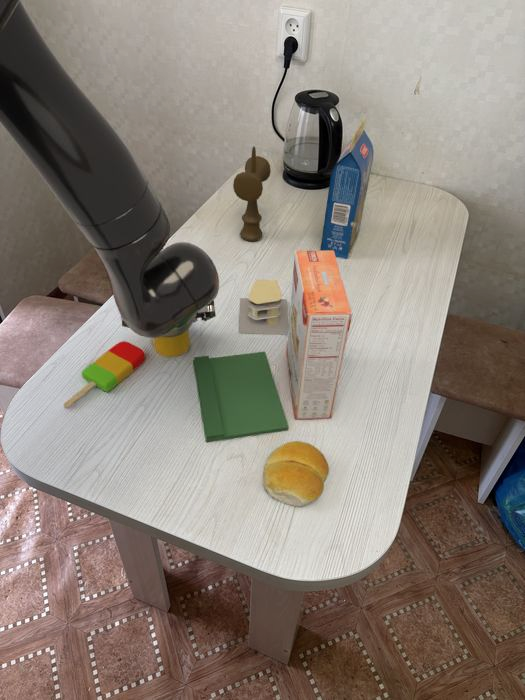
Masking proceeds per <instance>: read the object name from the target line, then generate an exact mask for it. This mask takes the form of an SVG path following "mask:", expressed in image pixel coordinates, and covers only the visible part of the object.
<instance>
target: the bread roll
mask: <svg viewBox="0 0 525 700" xmlns="http://www.w3.org/2000/svg"><path fill="white" fill-rule="evenodd" d="M329 471H330V467H329V463H328V461H327V459H326V457H325V456H324V453H322V452H321V451H320V450H319V449H318V448H317V447H315V446H314V445H312V444H310V443H308V442H304V441H299V440H295V441H294V440H293V441H289V442H286V443H284V444H282V445H280V446H278V447H277V448H275V450H273V451H272V452H271V453H270V454H269V456H268V457H267V459H266V462H265V466H264V469H263V473H262V482H263V486H264V488H265V490H266V491H267V493H268V494H269V495H270V497H272V498H273V499H274V500H277V501H279V502H281V503H283V504H285V505H289V506H293V507H297V508H298V507H299V508H302V507H305V506H307V505H308V504H311V503H313V502H316V500H318V499H319V497H320V496H321V495H322V494H323V492H324V487H325V486H324V482H325V481H326V479H327V477H328V475H329Z"/></svg>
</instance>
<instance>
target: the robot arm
mask: <svg viewBox="0 0 525 700" xmlns="http://www.w3.org/2000/svg"><path fill="white" fill-rule="evenodd" d="M0 124H1V126H2V127H3V129H5V130H6V132H7V133H8V134H9V136H10V137H11V139H12V140H13V141H14V142H15V143H16V145H17V146H18V147H19V149H20V150H21V151H22V153H23V154H24V155H25V157H26V158H27V159H28V161H29V162H30V164H31V165H32V166H33V167H34V169H35V171H37V172H38V174H39V176H40V177H41V179H42V180H43V181H44V182H45V183H46V185H47V186H48V188H49V189H50V191H51V192H52V193H53V194H54V196H55V198H56V199H57V200H58V201H59V203H60V204H61V206H62V208H64V210H65V211H66V212H67V214H68V215H69V217H70V218H71V220H72V221H73V222H74V223H75V225H76V226H77V227H78V229H79V230H80V232H81V233H82V235H83V236H84V237H85V239H86V240H87V241H88V242H89V244H90V246H91V247H92V249H93V250H94V251H95V253H96V255H97V256H98V258H99V260H100V262H101V264H102V266H103V268H104V271H105V274H106V276H107V278H108V282H109V284H110V288H111V289H110V290H111V292H112V296H113V299H114V303H115V305H116V308H117V310H118V313H119V315H120V319H121V326H122V327H124V328H128V329H130V330H131V331H132V332H133V333H135V334H136V335H138V336H140V337H144V338H147V339H153V338H159V337H161V336H162V337H176V336H179V335H181V334H183V333H185V332H186V331H187V330H188V329H189V330H190V328H191V327H192V326H193V323H194V324H195V323H197V322H198V319H201V321H203V322H207V321H208V320H211V319H214V318H216V316H217V315H216V307H215V300H216V298H217V296H218V294H219V290H220V278H219V273H218V270H217V267H216V265H215V263H214V261H213V259H212V258H211V257H210V256H209V255H208V254H207V253H206V251H204V250H203V249H202V248H201V247H199V246H198V245H195V244H193V243H191V242H186V241H185V242H184V241H181V242H174V243H172V244H171V245H168V246H166V245H167V243H168V241H169V239H170V235H171V224H170V220H169V218H168V216H167V213H166V211H165V209H164V208H163V206H162V203H161V202H160V201H159V198H158V197H157V194H156V193H155V191H154V189H153V188H152V186H151V183H150V181H149V180H148V178H147V177H146V173H145V172H144V170H143V169H142V167H141V165H140V163H139V162H138V160H137V158H136V157H135V155H134V154H133V152H132V151H131V148H129V146H128V145H127V144H126V142H125V141H124V140H123V138H122V136H120V135H119V133H118V131H117V130H116V129H115V127H113V126H112V124H111V123H110V122H109V120H107V118H106V117H105V116H104V114H103V113H101V111H100V110H99V109H98V108H97V106H95V104H94V103H93V102H92V100H91V99H90V98H89V97H88V96H87V95H86V93H85V92H84V91H83V90H82V89H81V87H79V85H78V84H77V82H76V81H75V80H74V78H72V76H71V75H70V74H69V72H67V70H66V69H65V68H64V66H62V64H61V62H60V61H59V59H58V58H57V57H56V55H55V53H53V51H52V49H51V48H50V47H49V46H48V44H47V42H46V41H45V39H44V38H43V36H42V35H41V34H40V32H39V30H38V29H37V27H36V25H35V23H34V22H33V21H32V18H31V17H30V15H29V14H28V11H27V9H26V8H25V6H24V4H23V2H22V1H21V0H0ZM165 246H166V247H165ZM164 247H165V248H164Z"/></svg>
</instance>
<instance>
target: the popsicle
mask: <svg viewBox="0 0 525 700" xmlns="http://www.w3.org/2000/svg"><path fill="white" fill-rule="evenodd" d="M145 361H146V352H145V351H144V350H143V349H142V348H141V347H138V346H137V345H135V344H133V343H132V342H129V341H125V340H122V341H119V342H118V343H116V344H115V345H113V346H112V347H111V348H110V349H109V350H107V351H105V352H104V353H103V354H102V355H101V356H99V357H98V358H97V359H95V360H94V361H93V362H91V364H89V365H88V366H87V367H86V368H83V370H82V371H81V375H82V378H83V379H84V380H85V381H86V382H89V383H87V384H86V385H84V386H83V387H82V388H81V389H80V390H79V391H77V392H76V393H75V394H74V395H72V396H71V397H70V398H68V400H66V401H64V403H63V407H64V408H66V409H68V408H70V407H72V406H73V405H74V404H75V403H76V402H77V401H78V400H80V399H82V398H83V396H85V395H86V394H87V393H88V392H90V391H91V390H92V389H94V387H97V388H99V389H101V390H102V391H104V392H105V393H107V394H108V393H109V392H110V391H112V390H113V389H115V387H117V386H118V385H119V384H120V383H121V382H122V381H124V380H125V379H126V378H127V377H128V376H129V375H131V374H132V373H133V372H134V371H135V370H136V369H137V368H139V367H140V366H141V365H143V364H144V363H145Z"/></svg>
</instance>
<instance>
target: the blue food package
mask: <svg viewBox="0 0 525 700" xmlns="http://www.w3.org/2000/svg"><path fill="white" fill-rule="evenodd" d="M366 119H367V115H365V116H364V118H363V120H362V121H361V122H360V124H359V126H358V127H357V129H356V131H355V133H354V134H353V136H352V139H351V140H350V141H349V142H348V144H347V146H346V147H345V148H344V149H343V150H342V152H341V154H340V155H339V158H338V160H337V162H336V163H335V165H334V167H333V169H332V171H331V174H330V179H329V184H328V185H329V186H328V193H327V200H326V208H325V213H324V214H325V215H324V222H323V229H322V234H321V235H322V237H321V242H320V250H319V251H324V250H333V251H334V253H335V257H336V258H341V259H342V258H343V259H348V257H349V255H350V254H351V252H352V250H353V247H354V245H355V242H356V240H357V238H358V235H359V232H360V229H361V223H362V219H363V213H364V208H365V203H366V198H367V192H368V187H369V182H370V177H371V174H372V173H371V172H372V166H373V163H374V152H375V151H374V146H373V143H372V140H371V139H370V137H369V136H368V133H367V132H366V130H365V125H366Z"/></svg>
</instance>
